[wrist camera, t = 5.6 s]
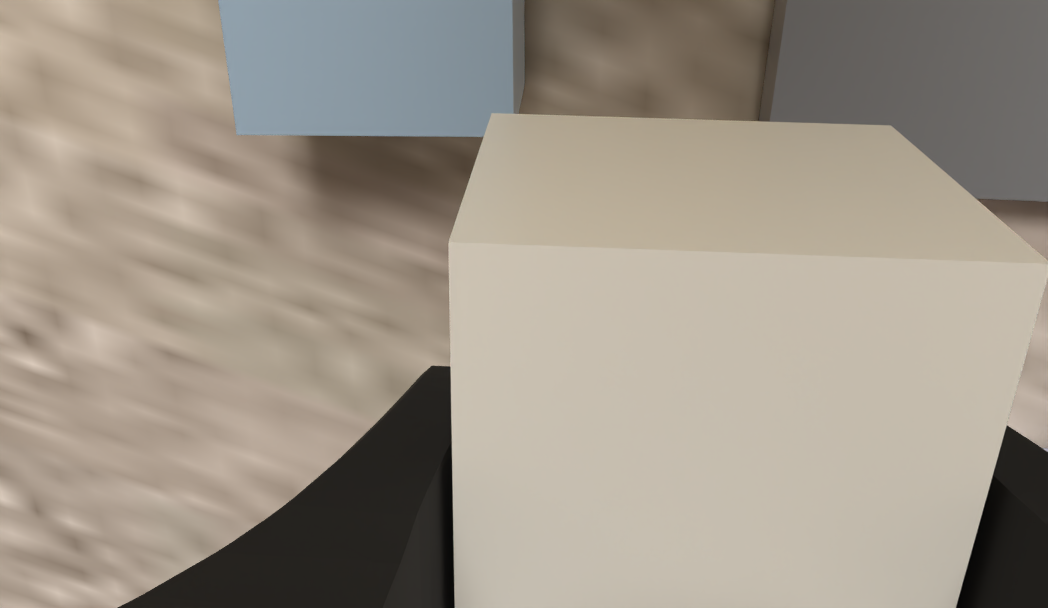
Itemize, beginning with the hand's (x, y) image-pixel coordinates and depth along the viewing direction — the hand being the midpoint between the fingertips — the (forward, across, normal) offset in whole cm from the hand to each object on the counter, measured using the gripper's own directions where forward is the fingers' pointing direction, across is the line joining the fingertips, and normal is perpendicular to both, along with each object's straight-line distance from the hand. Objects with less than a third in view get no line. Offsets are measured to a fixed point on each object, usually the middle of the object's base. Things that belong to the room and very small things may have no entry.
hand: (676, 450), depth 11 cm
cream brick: (+1, 0, 0) cm, 1 cm away
